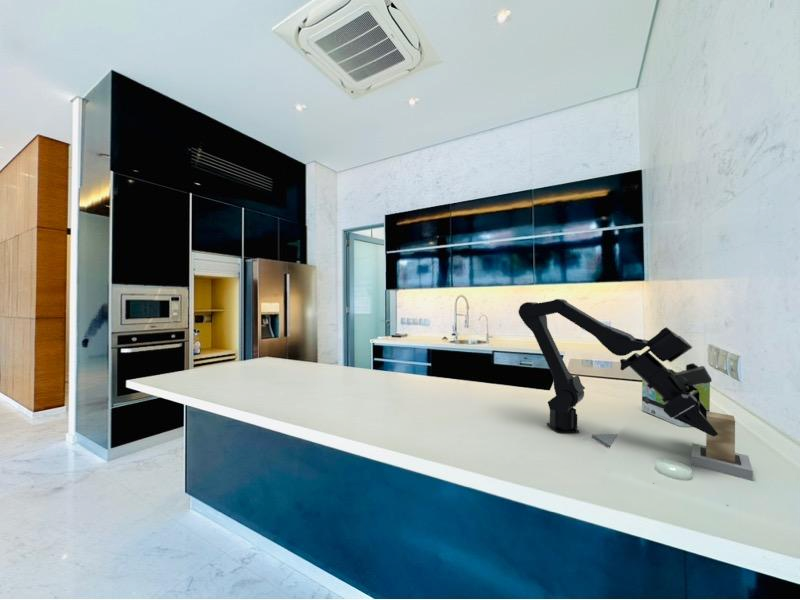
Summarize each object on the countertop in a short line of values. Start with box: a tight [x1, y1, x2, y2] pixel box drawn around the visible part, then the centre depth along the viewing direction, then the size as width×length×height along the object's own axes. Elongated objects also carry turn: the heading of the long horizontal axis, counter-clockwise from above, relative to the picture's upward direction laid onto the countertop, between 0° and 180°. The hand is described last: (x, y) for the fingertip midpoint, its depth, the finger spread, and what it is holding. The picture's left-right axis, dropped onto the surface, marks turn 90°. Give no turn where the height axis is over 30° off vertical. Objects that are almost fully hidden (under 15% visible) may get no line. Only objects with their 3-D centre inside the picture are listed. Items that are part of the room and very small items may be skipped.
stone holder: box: [690, 442, 754, 481], centre depth 75 cm, size 10×10×3 cm
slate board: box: [591, 433, 619, 449], centre depth 85 cm, size 14×14×1 cm
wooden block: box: [705, 411, 736, 464], centre depth 75 cm, size 4×4×11 cm
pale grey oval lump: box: [654, 458, 693, 481], centre depth 71 cm, size 6×6×2 cm
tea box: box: [641, 370, 711, 428], centre depth 108 cm, size 15×10×15 cm, turn 5°
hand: (715, 429), depth 75 cm, fingers open, 9 cm apart
